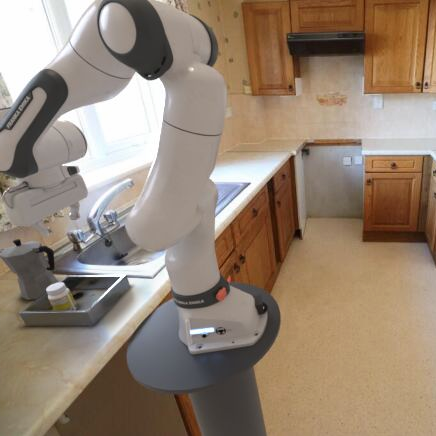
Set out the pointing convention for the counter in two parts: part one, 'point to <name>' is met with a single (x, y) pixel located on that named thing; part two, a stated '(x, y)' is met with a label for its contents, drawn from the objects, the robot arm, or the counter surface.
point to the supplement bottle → (60, 297)
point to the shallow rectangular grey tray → (38, 308)
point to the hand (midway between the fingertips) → (62, 226)
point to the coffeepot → (30, 267)
